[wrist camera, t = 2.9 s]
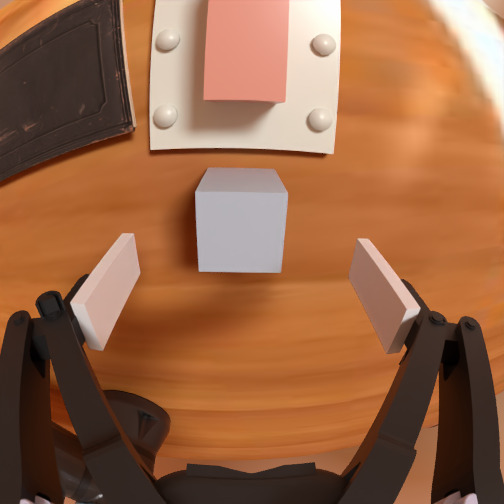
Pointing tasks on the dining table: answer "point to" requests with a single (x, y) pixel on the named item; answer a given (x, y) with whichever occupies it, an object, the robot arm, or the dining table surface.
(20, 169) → the hardcover book
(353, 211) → the dining table surface
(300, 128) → the studded cream panel
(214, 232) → the gray brick
